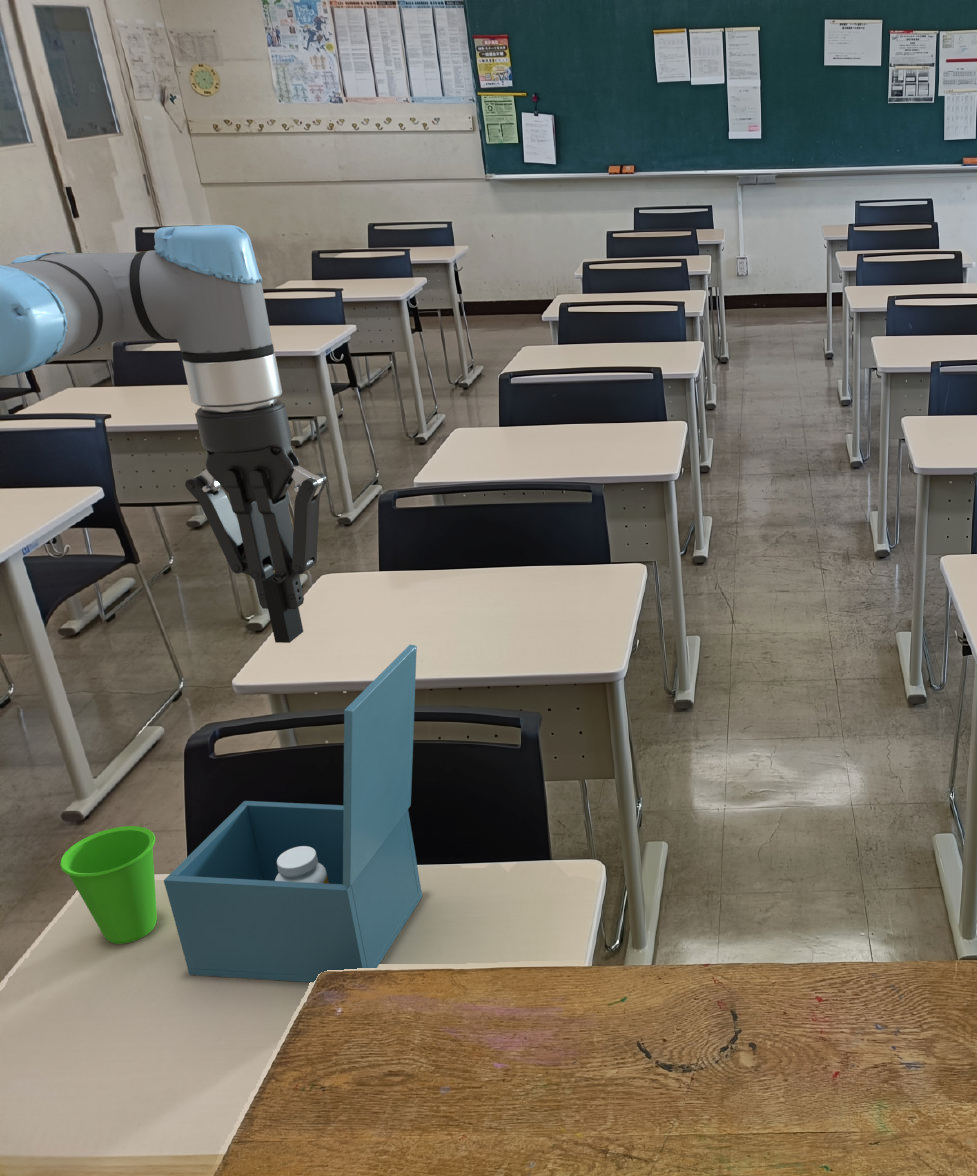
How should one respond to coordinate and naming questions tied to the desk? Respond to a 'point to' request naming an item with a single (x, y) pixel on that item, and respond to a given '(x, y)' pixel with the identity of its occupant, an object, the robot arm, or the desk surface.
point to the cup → (116, 880)
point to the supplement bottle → (301, 866)
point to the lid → (377, 762)
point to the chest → (289, 897)
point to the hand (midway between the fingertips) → (289, 636)
